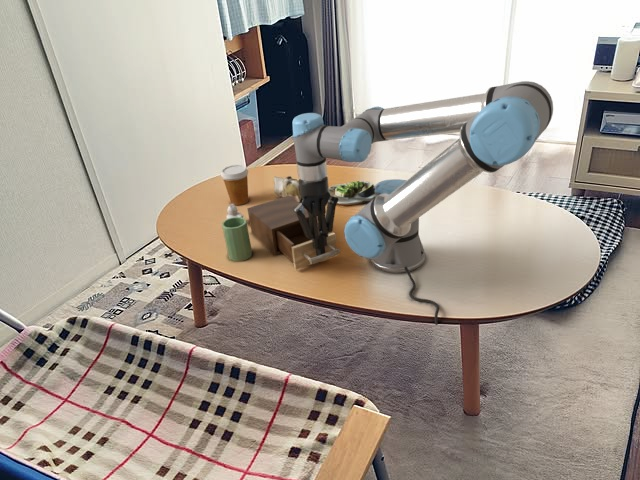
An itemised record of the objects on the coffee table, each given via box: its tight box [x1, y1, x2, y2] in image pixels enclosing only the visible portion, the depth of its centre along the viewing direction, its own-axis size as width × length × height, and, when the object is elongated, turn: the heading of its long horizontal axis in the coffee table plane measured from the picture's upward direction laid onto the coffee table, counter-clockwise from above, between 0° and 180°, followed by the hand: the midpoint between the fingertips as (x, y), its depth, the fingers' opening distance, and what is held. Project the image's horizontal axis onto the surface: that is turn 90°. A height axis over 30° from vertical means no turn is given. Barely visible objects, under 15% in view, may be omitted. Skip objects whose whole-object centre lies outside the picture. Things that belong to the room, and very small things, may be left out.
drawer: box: [275, 220, 341, 270], centre depth 163 cm, size 23×14×7 cm, turn 29°
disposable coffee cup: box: [220, 164, 249, 206], centre depth 198 cm, size 10×10×12 cm
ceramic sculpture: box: [273, 175, 301, 203], centre depth 197 cm, size 11×9×15 cm
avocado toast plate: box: [328, 180, 375, 206], centre depth 195 cm, size 19×18×5 cm
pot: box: [221, 217, 253, 262], centre depth 167 cm, size 7×7×11 cm
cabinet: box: [246, 195, 309, 256], centre depth 175 cm, size 18×15×9 cm
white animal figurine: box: [225, 202, 244, 220], centre depth 185 cm, size 5×7×8 cm
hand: (321, 257), depth 157 cm, fingers closed
